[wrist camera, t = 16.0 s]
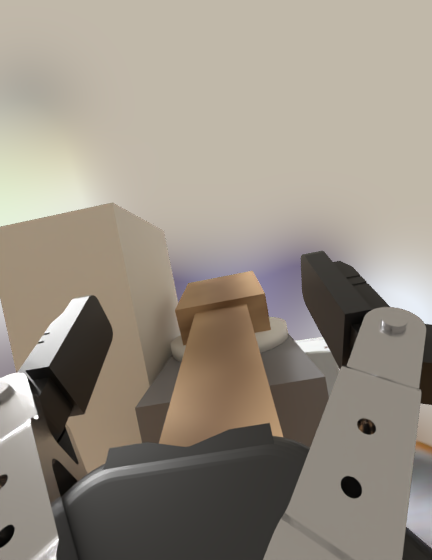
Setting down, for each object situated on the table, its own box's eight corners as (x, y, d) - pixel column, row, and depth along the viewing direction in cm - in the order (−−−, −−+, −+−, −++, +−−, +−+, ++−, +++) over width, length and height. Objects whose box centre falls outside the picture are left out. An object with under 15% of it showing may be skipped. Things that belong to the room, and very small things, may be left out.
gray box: (207, 761, 16) (131, 389, 15) (219, 519, 31) (181, 329, 30) (393, 746, 15) (321, 357, 14) (312, 506, 30) (276, 311, 29)
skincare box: (354, 440, 39) (335, 334, 39) (360, 472, 33) (337, 348, 33) (292, 438, 42) (273, 340, 41) (287, 467, 36) (266, 354, 36)
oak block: (123, 546, 9) (95, 467, 8) (194, 309, 31) (188, 283, 31) (350, 515, 8) (340, 430, 8) (257, 297, 31) (252, 270, 30)
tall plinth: (81, 673, 20) (-15, 229, 19) (143, 508, 34) (89, 246, 33) (205, 661, 20) (112, 202, 19) (216, 497, 34) (163, 230, 33)
